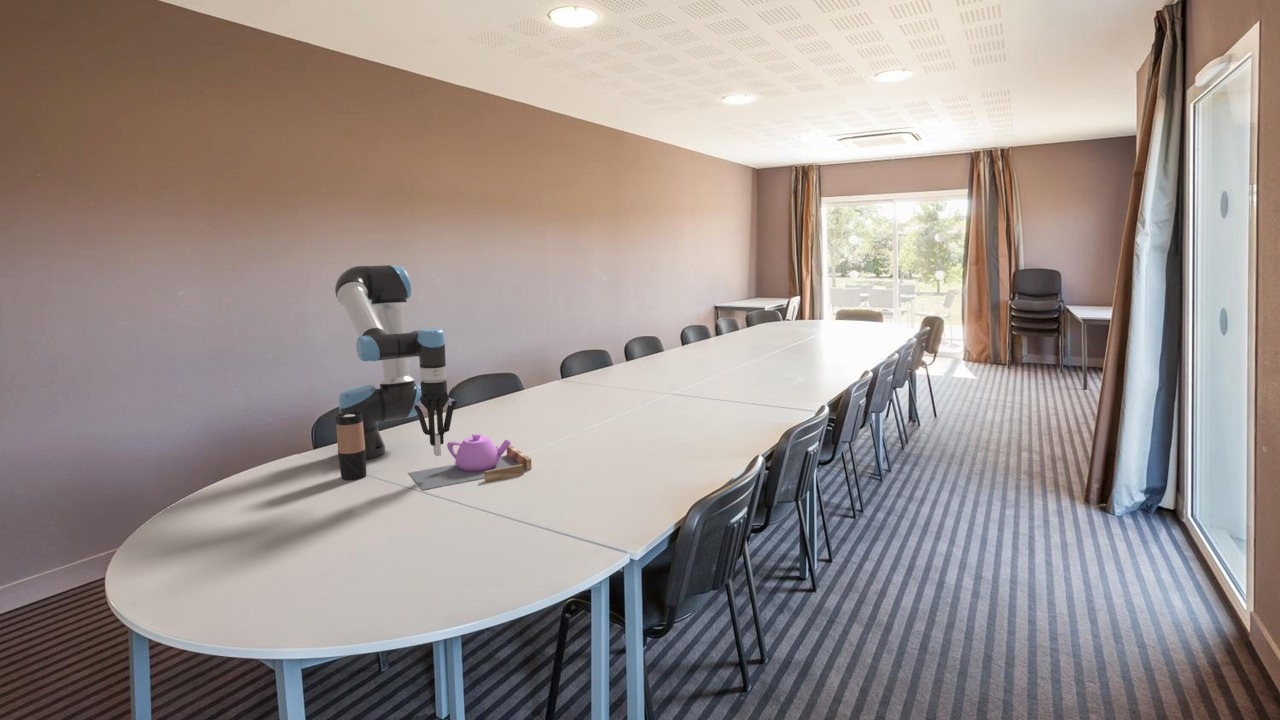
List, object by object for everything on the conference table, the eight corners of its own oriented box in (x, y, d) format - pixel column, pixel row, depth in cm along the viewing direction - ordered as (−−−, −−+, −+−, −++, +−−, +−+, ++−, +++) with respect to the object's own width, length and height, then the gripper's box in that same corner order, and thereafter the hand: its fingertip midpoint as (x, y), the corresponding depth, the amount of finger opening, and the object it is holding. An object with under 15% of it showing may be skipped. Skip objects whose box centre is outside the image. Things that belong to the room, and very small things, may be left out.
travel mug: (357, 481, 196) (352, 417, 192) (335, 480, 197) (329, 416, 194) (372, 473, 203) (367, 411, 200) (350, 472, 204) (345, 410, 201)
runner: (408, 473, 203) (408, 472, 203) (511, 454, 221) (511, 454, 220) (422, 490, 188) (422, 489, 188) (531, 469, 205) (531, 468, 205)
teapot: (512, 470, 204) (510, 437, 202) (446, 475, 200) (444, 442, 198) (511, 457, 218) (510, 426, 216) (450, 461, 213) (448, 430, 212)
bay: (462, 460, 215) (461, 450, 214) (507, 452, 223) (507, 442, 223) (486, 481, 194) (485, 470, 194) (535, 472, 203) (535, 461, 202)
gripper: (414, 384, 188) (418, 462, 192) (458, 380, 195) (462, 454, 199) (408, 380, 194) (412, 454, 198) (451, 375, 201) (454, 447, 205)
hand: (437, 454), depth 199 cm, fingers closed
